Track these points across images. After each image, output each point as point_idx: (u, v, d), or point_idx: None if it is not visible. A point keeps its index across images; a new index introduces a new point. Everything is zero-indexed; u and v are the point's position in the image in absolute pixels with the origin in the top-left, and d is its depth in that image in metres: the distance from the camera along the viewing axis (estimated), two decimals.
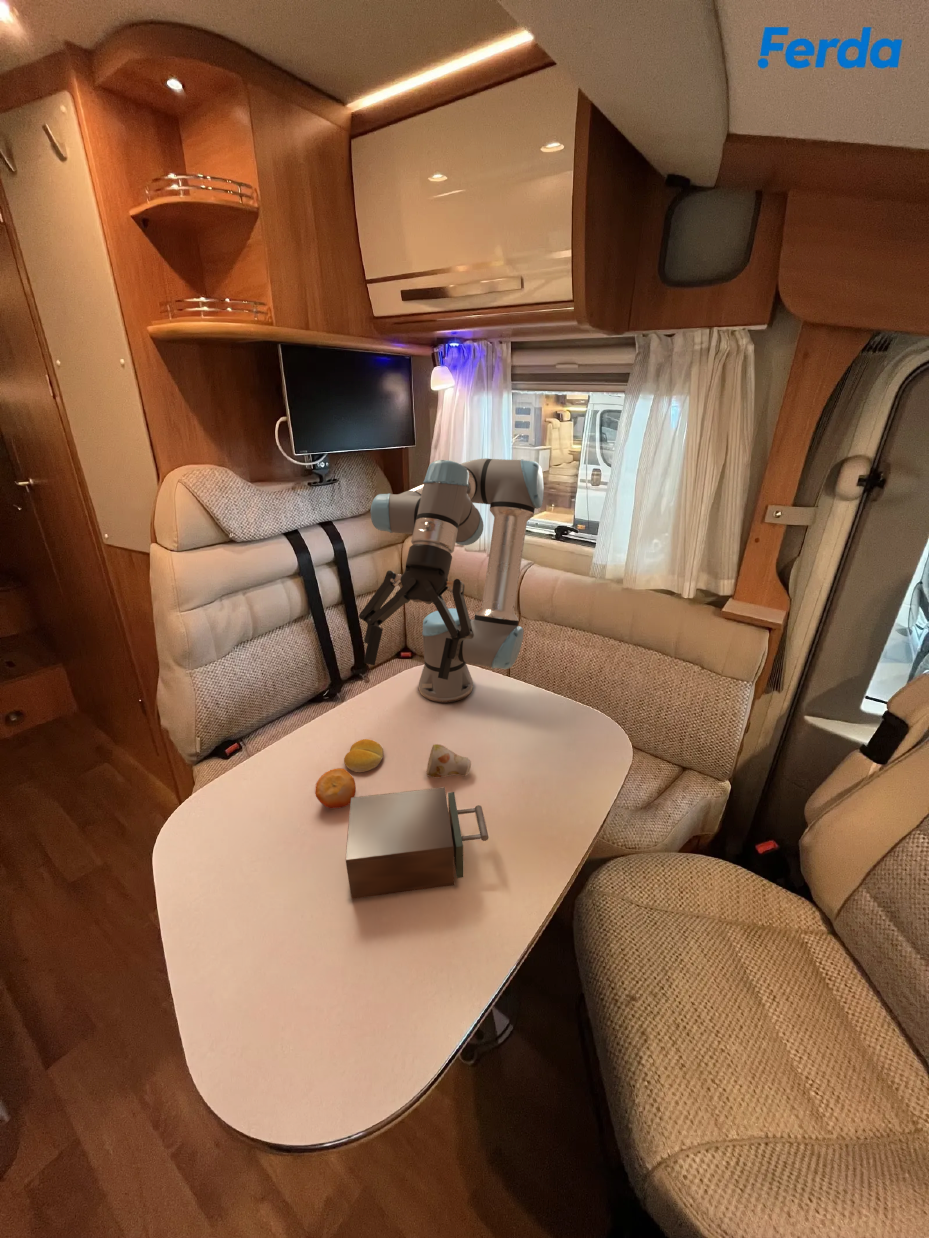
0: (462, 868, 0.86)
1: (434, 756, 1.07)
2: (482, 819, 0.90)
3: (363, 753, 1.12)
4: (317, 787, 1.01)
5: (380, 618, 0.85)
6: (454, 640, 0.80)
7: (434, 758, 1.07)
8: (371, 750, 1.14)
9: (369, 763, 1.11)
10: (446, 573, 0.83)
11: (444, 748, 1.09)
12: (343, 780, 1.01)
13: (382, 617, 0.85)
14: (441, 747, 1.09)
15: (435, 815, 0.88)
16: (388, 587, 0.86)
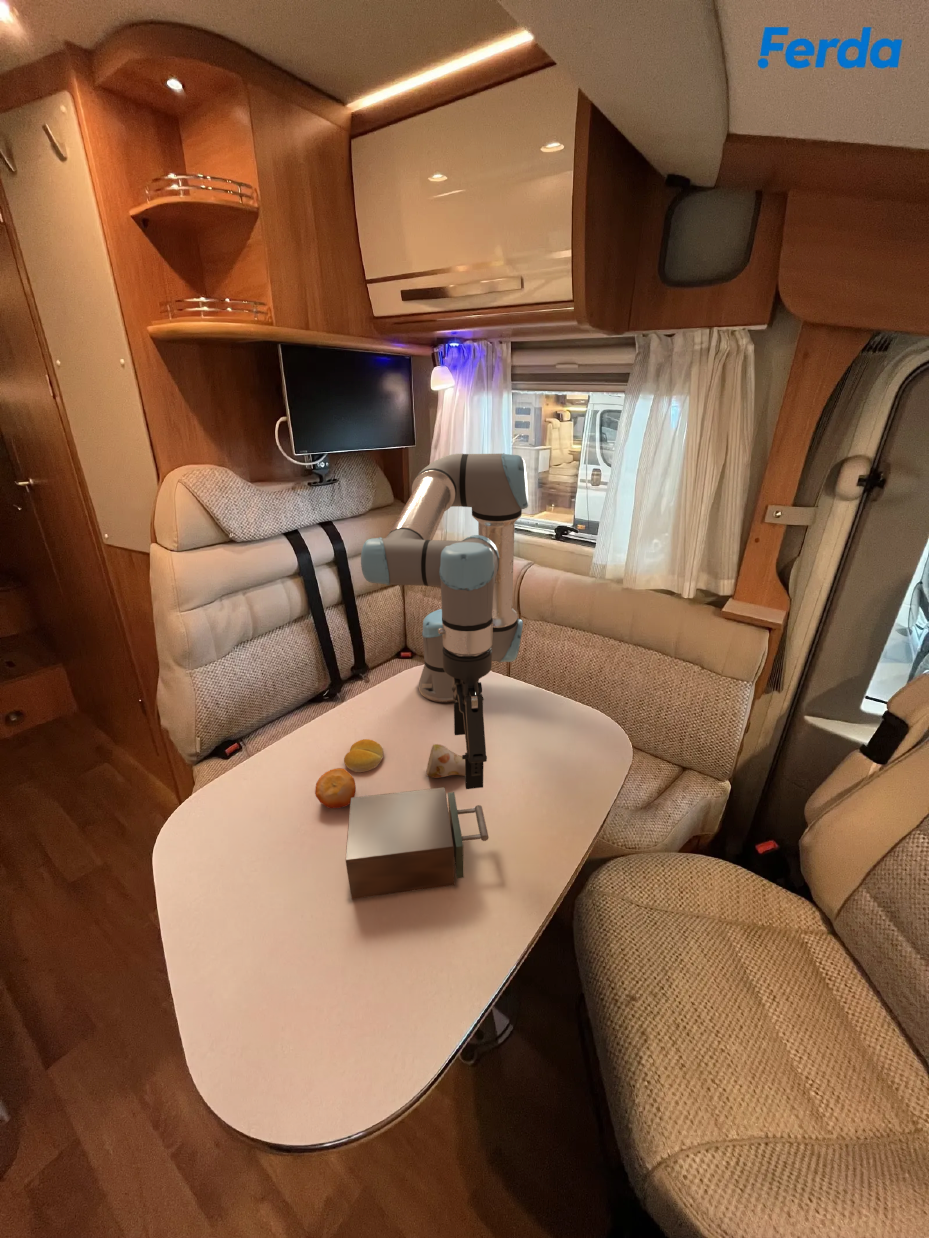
0: (462, 868, 0.86)
1: (434, 756, 1.07)
2: (482, 819, 0.90)
3: (363, 753, 1.12)
4: (317, 787, 1.01)
5: (458, 698, 0.86)
6: None
7: (434, 758, 1.07)
8: (371, 750, 1.14)
9: (369, 763, 1.11)
10: (468, 681, 0.74)
11: (444, 748, 1.09)
12: (343, 780, 1.01)
13: None
14: (441, 747, 1.09)
15: (435, 815, 0.88)
16: None
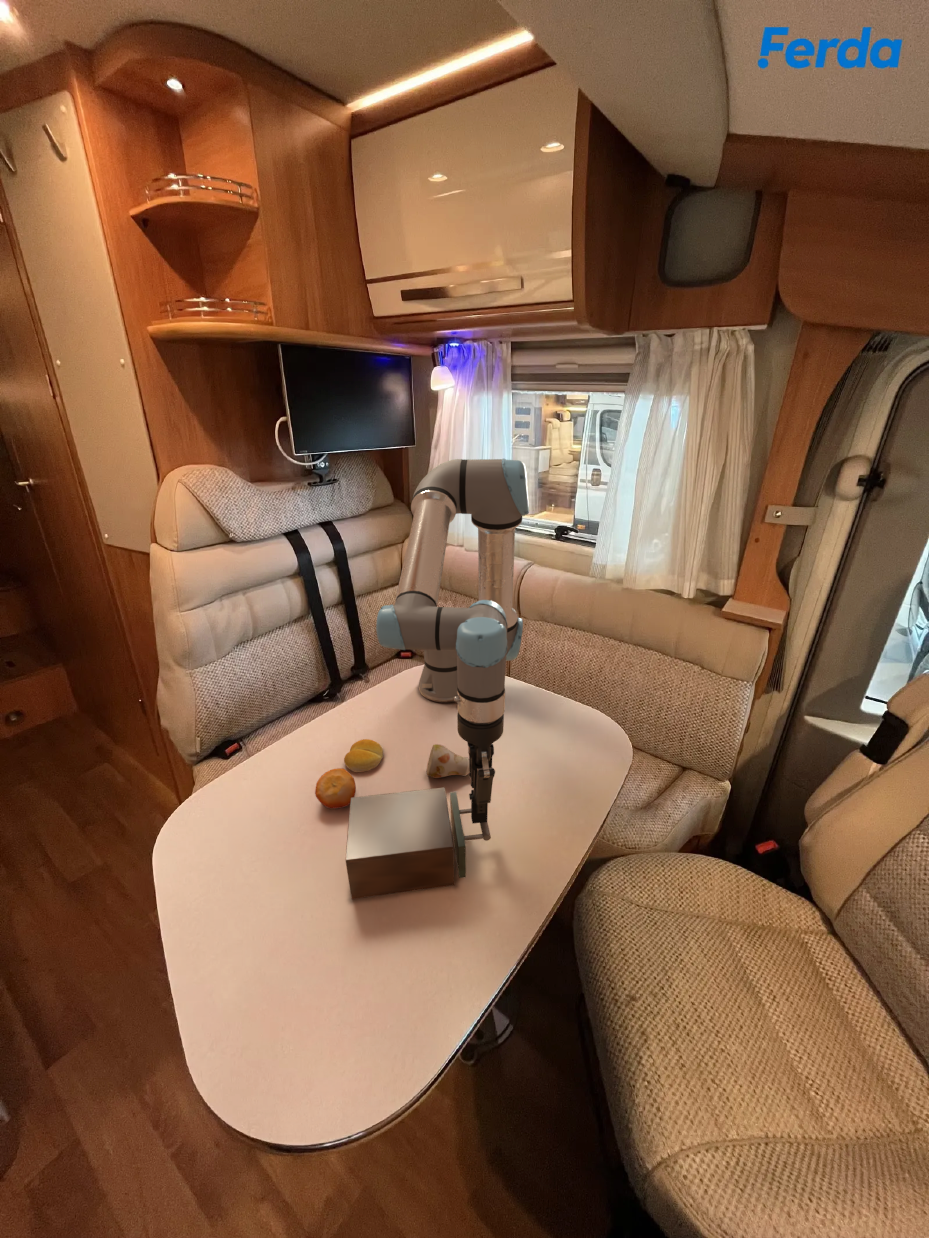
0: (464, 868, 0.86)
1: (434, 756, 1.07)
2: None
3: (363, 753, 1.12)
4: (317, 787, 1.01)
5: None
6: None
7: (434, 758, 1.07)
8: (371, 750, 1.14)
9: (369, 763, 1.11)
10: (482, 746, 0.78)
11: (444, 748, 1.09)
12: (343, 780, 1.01)
13: None
14: (441, 747, 1.09)
15: (435, 815, 0.88)
16: None
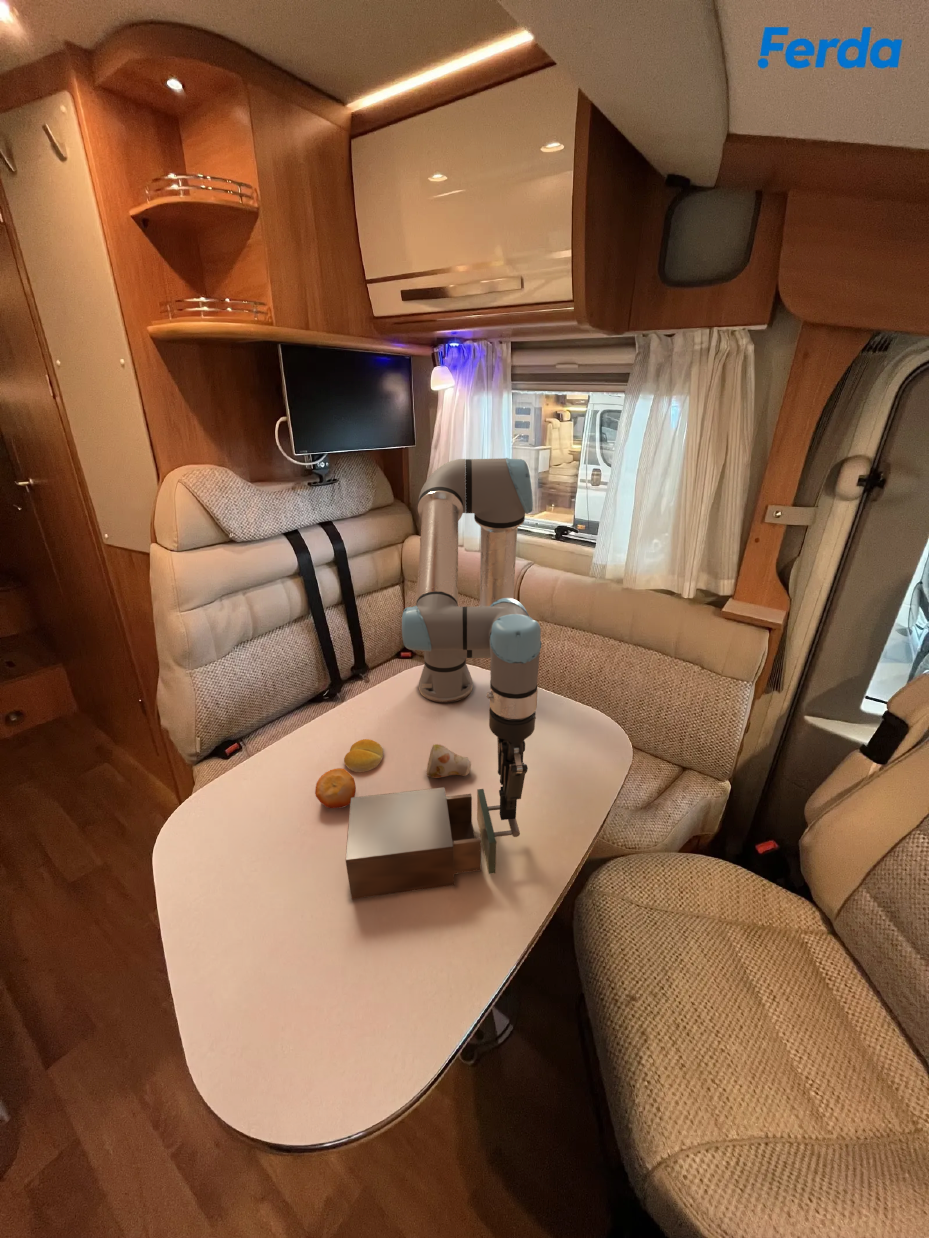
0: (494, 864, 0.87)
1: (434, 756, 1.07)
2: None
3: (363, 753, 1.12)
4: (317, 787, 1.01)
5: None
6: None
7: (434, 758, 1.07)
8: (371, 750, 1.14)
9: (369, 763, 1.11)
10: (514, 742, 0.79)
11: (444, 748, 1.09)
12: (343, 780, 1.01)
13: None
14: (441, 747, 1.09)
15: (435, 815, 0.88)
16: None
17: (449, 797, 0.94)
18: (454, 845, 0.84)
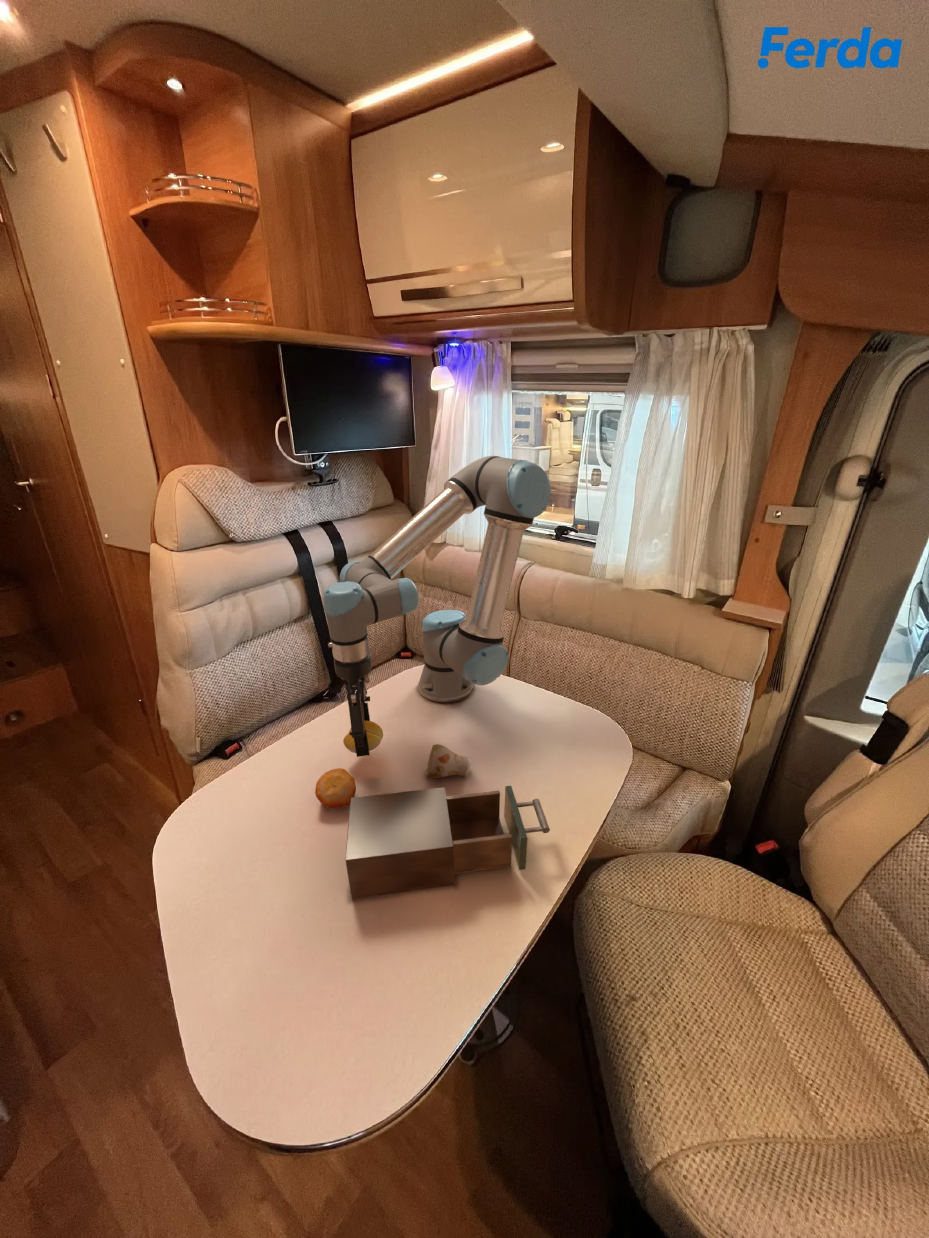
0: (525, 860, 0.87)
1: (434, 756, 1.07)
2: (541, 812, 0.92)
3: None
4: (317, 787, 1.01)
5: None
6: None
7: (434, 758, 1.07)
8: (371, 731, 1.12)
9: (369, 744, 1.09)
10: (351, 680, 1.02)
11: (444, 748, 1.09)
12: (343, 780, 1.01)
13: None
14: (441, 747, 1.09)
15: (435, 815, 0.88)
16: None
17: (478, 794, 0.94)
18: (486, 841, 0.85)
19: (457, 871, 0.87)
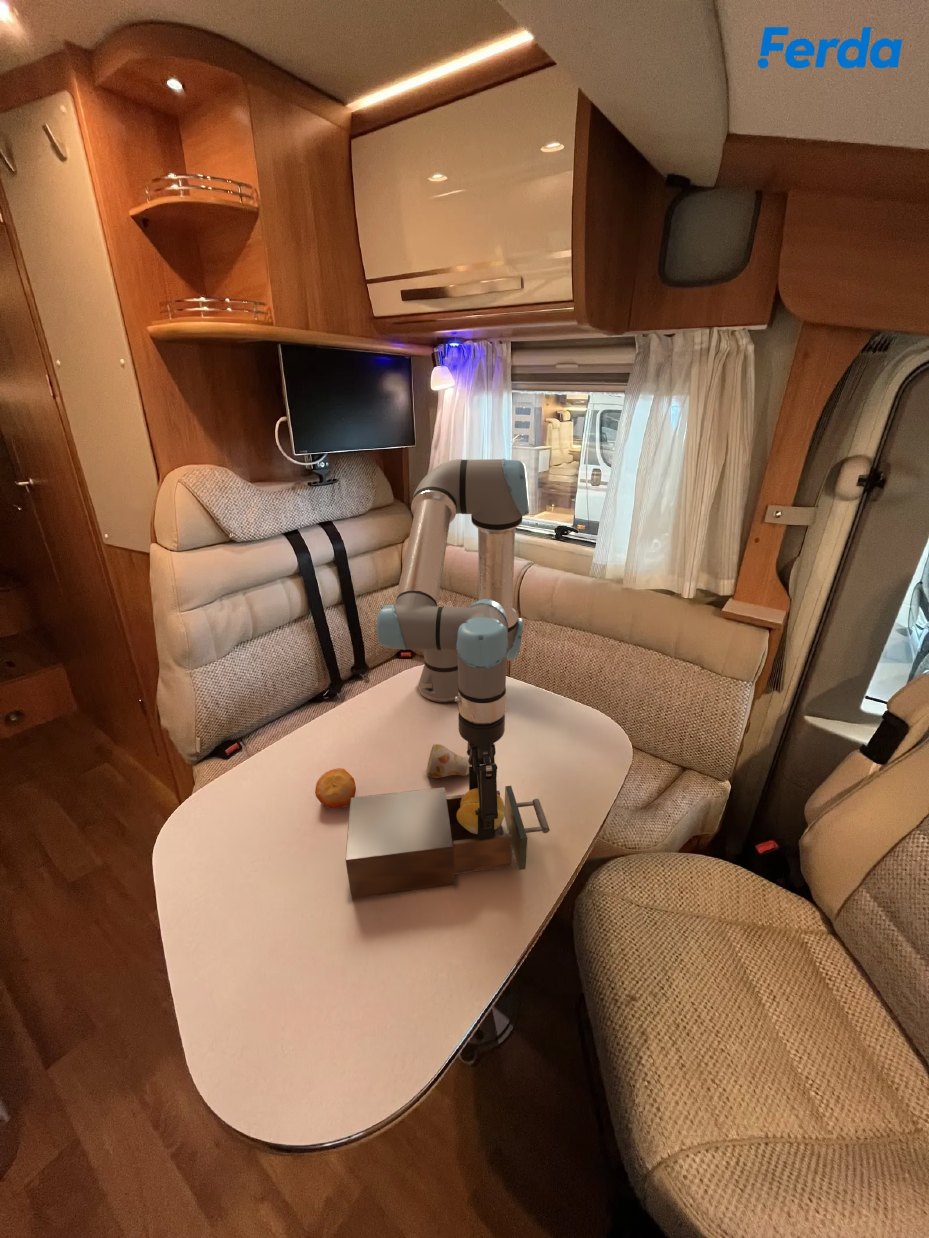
0: (525, 860, 0.87)
1: (434, 756, 1.07)
2: (541, 812, 0.92)
3: None
4: (317, 787, 1.01)
5: (473, 761, 0.90)
6: None
7: (434, 758, 1.07)
8: None
9: None
10: (483, 746, 0.78)
11: (444, 748, 1.09)
12: (343, 780, 1.01)
13: None
14: (441, 747, 1.09)
15: (435, 815, 0.88)
16: None
17: None
18: (486, 841, 0.85)
19: (457, 871, 0.87)
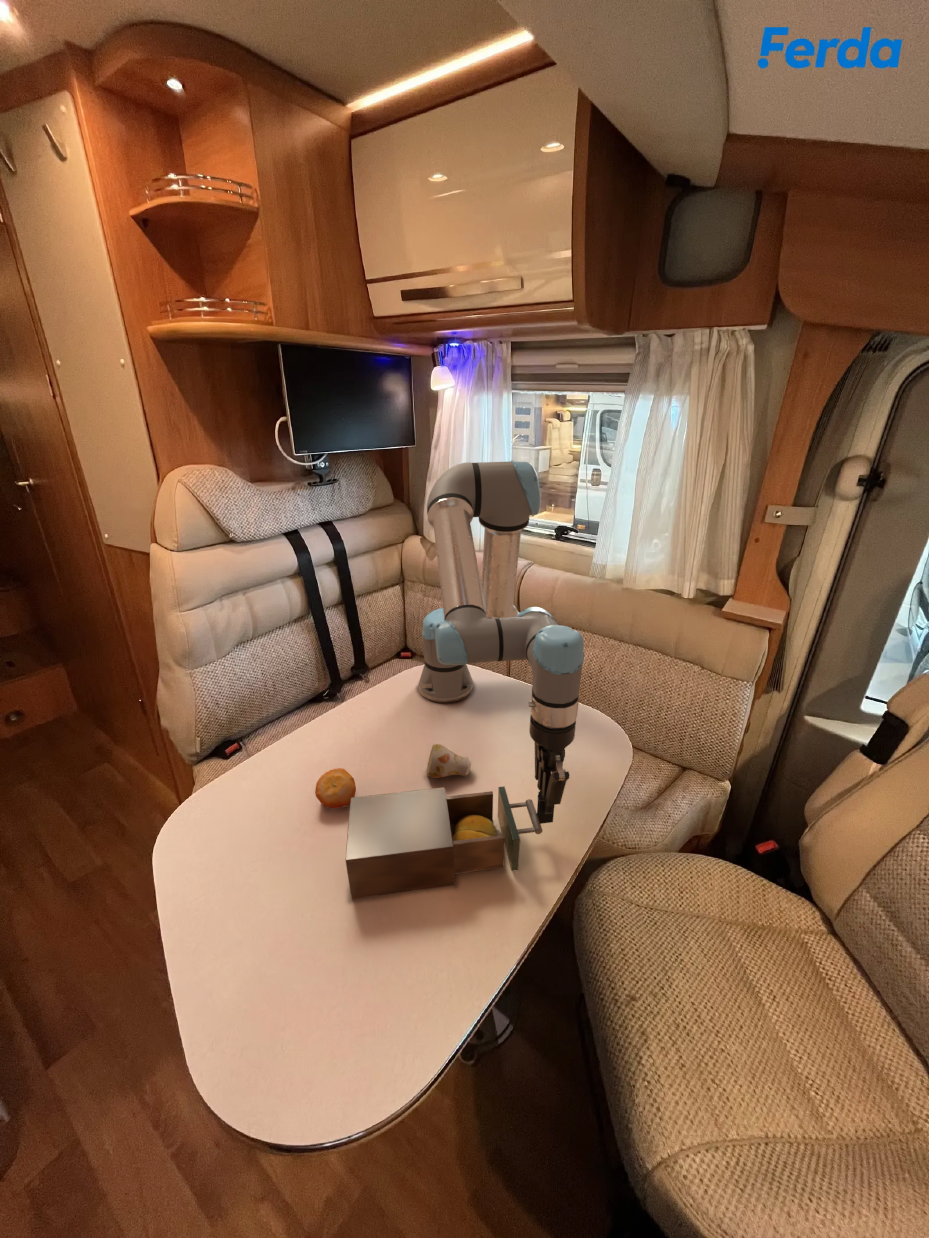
0: (517, 861, 0.87)
1: (434, 756, 1.07)
2: (534, 813, 0.92)
3: (476, 836, 0.89)
4: (317, 787, 1.01)
5: (543, 782, 0.90)
6: (545, 800, 0.89)
7: (434, 758, 1.07)
8: (484, 831, 0.91)
9: None
10: (556, 750, 0.81)
11: (444, 748, 1.09)
12: (343, 780, 1.01)
13: None
14: (441, 747, 1.09)
15: (435, 815, 0.88)
16: None
17: (471, 795, 0.94)
18: (478, 842, 0.85)
19: None
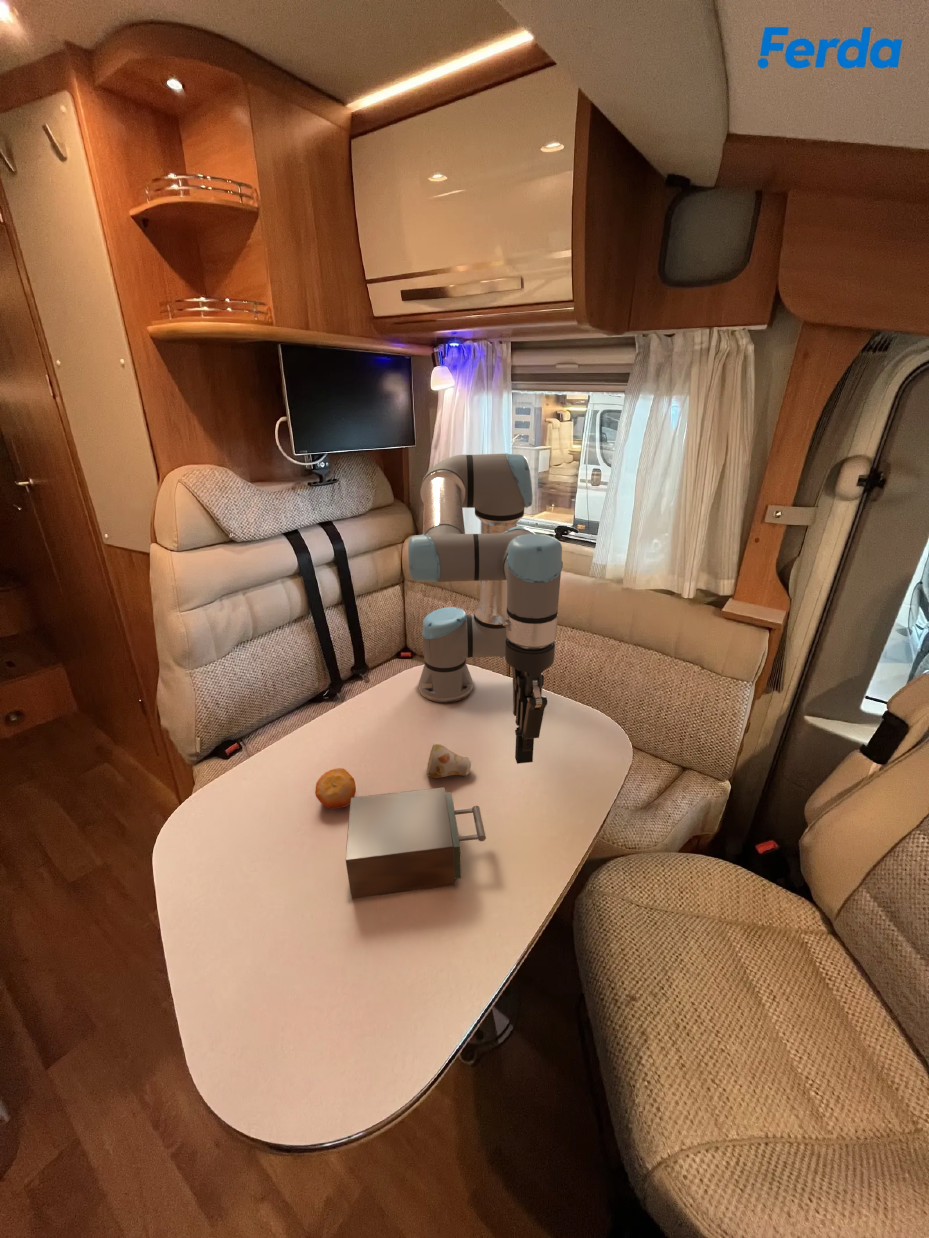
0: (459, 868, 0.86)
1: (434, 756, 1.07)
2: (479, 819, 0.90)
3: None
4: (317, 787, 1.01)
5: None
6: None
7: (434, 758, 1.07)
8: None
9: None
10: (533, 673, 0.74)
11: (444, 748, 1.09)
12: (343, 780, 1.01)
13: None
14: (441, 747, 1.09)
15: (435, 815, 0.88)
16: None
17: None
18: None
19: None
